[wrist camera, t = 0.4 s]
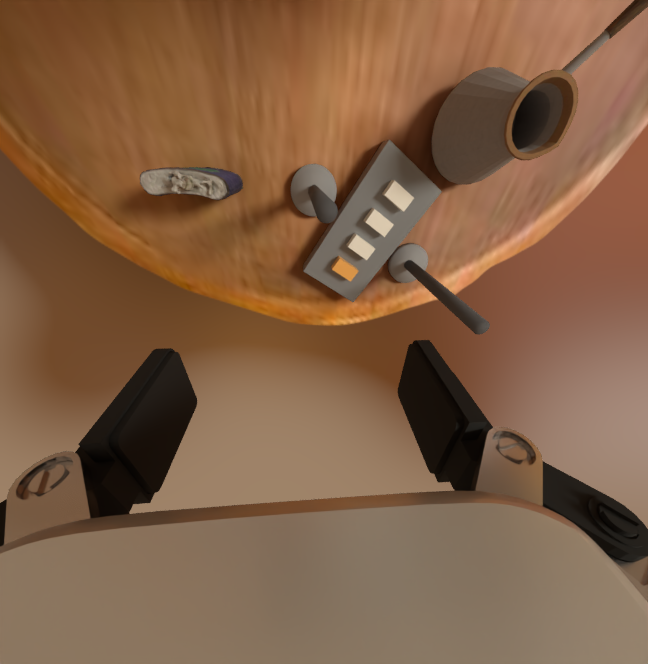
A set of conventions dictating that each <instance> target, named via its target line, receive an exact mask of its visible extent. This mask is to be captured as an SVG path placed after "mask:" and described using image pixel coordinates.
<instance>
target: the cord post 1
mask: <svg viewBox="0 0 648 664" xmlns="http://www.w3.org/2000/svg"><path fill="white" fill-rule="evenodd" d="M336 193H337V189H336V183H335V180H334V177H333V176H332V174H331V173H330V172H329V171H328V170H327V169H326V168H325V167H323V166H321V165H318V164H309V165H306V166H303V167H302V168H300V169H299V170H298V171H297V172H296V174H295V175H294V177H293V180H292V183H291V197H292V200H293V202H294V204H295V206H296V207H297V209H298V210H299V211H301V212H302V213H303V214H305V215H308V216H317V218H318V219H319V221H321V222H323V223H330V222H332V221H334V220H335V218H336V216H337V213H338V209H337V206H336V204H335V203H334V202H335V199H336Z"/></svg>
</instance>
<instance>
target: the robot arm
mask: <svg viewBox="0 0 648 664" xmlns="http://www.w3.org/2000/svg"><path fill="white" fill-rule="evenodd" d="M398 396H399V399H400V401H401V404H402V406H403V409H404V411H405V414H406V416H407V419H408V421H409V423H410V426H411V428H412V431H413V433H414V436H415V438H416V440H417V443H418V445H419V448H420V450H421V453H422V455H423V458H424V460H425V462H426V465H427V467H428V469H429V471H430V473H434V474H435V477H436V479H437V481H438V482H450V483H451V485H452V487H453V489H455V490H454V491H439V492H419V493H401V494H386V495H371V496H357V497H342V498H328V499H314V500H300V501H287V502H273V503H260V504H246V505H232V506H219V507H207V508H194V509H181V510H169V511H157V512H146V513H136V514H129V511H130V510H131V508H132V505H133V504H140V503H150V502H151V500H152V497H153V495H154V493H155V492H158V491H159V490H160V488H161V486H162V484H163V482H164V479H165V477H166V475H167V473H168V470H169V468H170V466H171V463H172V461H173V459H174V456H175V454H176V452H177V450H178V447H179V445H180V443H181V440H182V438H183V436H184V434H185V431H186V429H187V427H188V424H189V422H190V420H191V418H192V415H193V413H194V411H195V408H196V405H197V398H196V396H195V393H194V390H193V388H192V385H191V383H190V380H189V378H188V375H187V373H186V370H185V367H184V365H183V363H182V360H181V357H180V355H179V353H178V352H175V351H174V350H173V349H171V348H170V349H155V350H153V351H152V353H151V354H150V355H149V356H148V358H147V359H146V360H145V362H144V363H143V364H142V365H141V366H140V368H139V369H138V370H137V371H136V373H135V374H134V375H133V377H132V378H131V379H130V380H129V382H128V383H127V384H126V385H125V387H124V388H123V389H122V390H121V392H120V393H119V394H118V395H117V397H116V398H115V399H114V400H113V402H112V403H111V404H110V405H109V407H108V408H107V409H106V410H105V412H104V413H103V414H102V415H101V417H100V418H99V419H98V420H97V422H96V423H95V424H94V425H93V427H92V428H91V429H90V430H89V432H88V433H87V434H86V436H85V437H84V438H83V439H82V441H81V442H80V443H79V445H80V447H79V448H78V450H77V451H76V452H75V453H74V452H69V451H68V452H67V451H65V452H60V453H55V454H53V455H50V456H48V457H46V458H44V459H42V460H40V461H39V462H37V463H35V464H33V465H32V466H31V467H30V468H28V469H27V470H25V471H24V472H23V473H22V474H21V475H20V476H19V477H18V478H17V479H16V480H15V482H14V483H13V485H12V486H11V488H10V489H9V492H8V495H7V499H6V500H5V501H3V502H1V503H0V664H648V529H647V528H646V526H645V525H644V524H643V522H642V521H640V519H639V518H638V517H637V516H636V515H635V514H634V513H632V512H631V511H630V510H629V509H627V508H626V507H625V506H624V505H622V504H621V503H619V502H617V501H616V500H614V499H613V498H610V497H609V496H607V495H605V494H603V493H601V492H599V491H597V490H596V489H594V488H592V487H590V486H588V485H586V484H584V483H583V482H581V481H579V480H577V479H575V478H573V477H571V476H569V475H567V474H565V473H564V472H562V471H560V470H558V469H556V468H554V467H552V466H551V465H549V464H547V463H545V462H543V460H542V455H541V453H540V451H539V450H538V448H537V447H536V446H535V445H534V443H533V442H532V441H531V440H529V439H528V438H527V437H526V436H524V435H523V434H521V433H519V432H517V431H515V430H512V429H510V428H506V427H494V428H493V427H492V425H491V424H490V423H489V421H488V420H487V418H486V417H485V416H484V414H483V413H482V411H481V410H480V409H479V407H478V406H477V405H476V403H475V402H474V400H473V399H472V397H471V396H470V395H469V393H468V392H467V391H466V389H465V388H464V387H463V385H462V384H461V382H460V381H459V379H458V378H457V377H456V375H455V374H454V373H453V372H452V371H451V370H450V368H449V367H448V365H447V364H446V363H445V361H444V360H443V358H442V357H441V356H440V354H439V353H438V352H437V350H436V349H435V347H434V346H433V344H432V343H431V342H430V341H429V340H418V341H417V340H416V341H414V342H413V344H410V345H409V347H408V351H407V355H406V359H405V363H404V367H403V371H402V375H401V379H400V383H399V387H398Z"/></svg>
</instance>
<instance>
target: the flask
mask: <svg viewBox="0 0 648 664" xmlns="http://www.w3.org/2000/svg"><path fill="white" fill-rule="evenodd" d="M140 184H141V186H142V187H143V188H144V190H145V191H146V192H147V193H148V194H151V195H156V196H163V195H167V194H191V195H199V196H204V197H207V198H210V199H215V200H221V199H225V198H227V197H228V196H230V195H233V194H235V193H238V192H239V191H241V189H243V184H242V179H241V177H240V176H239V175H238V174H235V173H233V172H231V171H227V170H223V169H218V168H210V167H206V168H198V167H196V168H191V167H189V168H159V169H152V170H146V171H145V172H142V173H141V175H140Z"/></svg>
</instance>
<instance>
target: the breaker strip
mask: <svg viewBox="0 0 648 664" xmlns="http://www.w3.org/2000/svg"><path fill="white" fill-rule="evenodd" d="M441 192H442V191H441V190H440V189H439V188H438V187H437V186H436V185H435V184H434V183H433V182H432V181H431V180H430V179H429V178H428V177H427V176H426V175H425V174H424V173H423V172H422V171H421V170H420V169H419V168H418V167H417V166H416V165H415V164H414V163H412V162H411V161H410V160H409V159H408V158H407V157H406V156H405V155H404V154H403V153H402V152H401V151H400V150H399V149H398V148H397V147H396V146H395V145H394V144H393V143H392V142H391V141H390V140H386V141H383V142H382V143H381V145H380V147H379V148H378V150H377V151H376V153H375V154H374V156H373V157H372V159H371V161H370V162H369V164H368V165H367V167H366V168H365V170H364V171H363V173H362V175H361V176H360V178H359V179H358V181H357V182H356V184H355V185H354V187H353V189H352V190H351V192H350V193H349V195H348V196H347V198H346V199H345V201H344V203H343V204H342V206H341V207H340V209H339V210H338V213H337V216H336V218H335V220H334V221H332V222H331V223H330V224H329V226H328V227H327V229H326V231H325V232H324V234H323V235H322V237H321V238H320V240H319V241H318V243H317V245H316V246H315V248H314V249H313V251H312V252H311V254H310V255H309V257H308V259H307V260H306V262H305V263H304V265H303V271H304V272H305V273H307V274H308V275H310V276H312V277H313V278H315V279H316V280H318V281H320V282H321V283H323V284H324V285H326V286H328V287H329V288H331V289H333V290H334V291H336V292H337V293H339V294H341V295H342V296H344V297H345V298H347V299H349V300H350V301H352V302H354V301H355V299H356V298H357V297H358V296H359V294H360V293H361V292H362V291H363V289H364V288H365V287H366V286H367V284H368V283H369V282H370V281H371V279H372V278H373V277H374V276H375V274H376V273H377V272H378V271H379V269H380V268H381V267H382V266H383V264H384V263H385V262H386V261H387V259H388V258H389V257H390V256H391V254H392V253H393V252H394V251H395V249H396V248H397V247H398V246H399V244H400V243H401V242H402V241H403V239H404V238H405V237H406V236H407V234H408V233H409V232H410V231H411V229H412V228H413V227H414V226H415V224H416V223H417V222H418V221H419V219H420V218H421V217H422V216H423V214H424V213H425V212H426V211H427V209H428V208H429V207H430V206H431V204H432V203H433V202H434V201H435V199H436V198H437V197H438V196H439V194H440V193H441Z"/></svg>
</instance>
